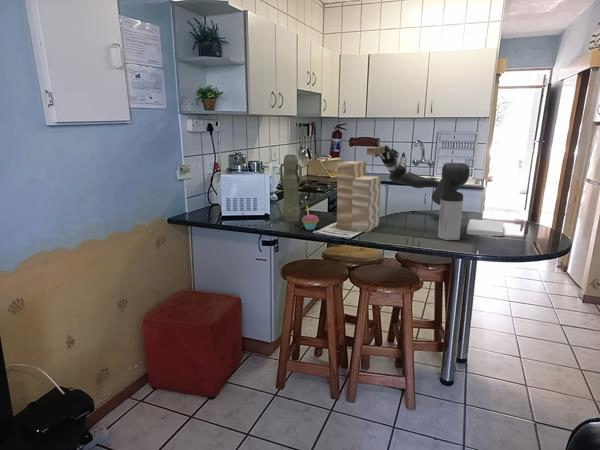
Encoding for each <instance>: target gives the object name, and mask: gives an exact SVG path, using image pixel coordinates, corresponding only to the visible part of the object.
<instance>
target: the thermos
mask: <svg viewBox="0 0 600 450" xmlns="http://www.w3.org/2000/svg"><path fill="white" fill-rule="evenodd" d="M302 175H303V167H302V165H301V164H300V163H299V159H298V157H297V155H295V154H286V155H284V158H283V163H281V164H280V166H279V177H280V183H281V184H282V189H283V208H282V212H283V221H284V222H286V223H297V222H299V221H300V216H301V215H300V213H301V212H300V209H301V208H300V206H299V204H300V203H299V200H300V199H299V195H300V194H299V190H300V184H302V183H303V180H302V179H303V177H302Z"/></svg>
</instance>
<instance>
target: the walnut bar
mask: <svg viewBox="0 0 600 450" xmlns="http://www.w3.org/2000/svg"><path fill="white" fill-rule="evenodd" d="M387 146H388V147H389V148H390V146H389V145H387ZM384 148H385V145H380V147H378V146H374V147H367V148H366V155H370V156H371V155H374V156H375V154H380V153H385V152H386V151H385V149H384Z"/></svg>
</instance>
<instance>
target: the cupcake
mask: <svg viewBox="0 0 600 450" xmlns="http://www.w3.org/2000/svg"><path fill="white" fill-rule="evenodd" d="M306 212H307V214H305V215H304V216H303V217H301V222H302V223H303V226H304V228H305V230H308V231H311V230H315V229H316V226H317V224H318V223H319V222H320V218H319V217H318V216H317V215H315V214H310V212H309V206H308V205H306Z"/></svg>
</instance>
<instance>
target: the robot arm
mask: <svg viewBox="0 0 600 450" xmlns="http://www.w3.org/2000/svg"><path fill="white" fill-rule="evenodd" d="M380 146H381V145H380V144H378V145H377V147H380ZM384 146H385V148H384V149H385V151H386V152H385V153H380V154H374V157H375V158H377V157H379V158H380V159H381V161H382V163H383V165H384V167H385V168H386V169H387V170H388V172H389V175H388V178H389V180H390V181H391V182H393V183H396V184H402V185H403V184H404V185H407V186H409V187H412V188H413V189H424V188H425V189H426V188H435V190H434V191H433V192H432V194H431V200H432V201H433V202H434V203H435V204H437V205H439V218H438V229H437V237H438V238H439V239H442V240H445V241H460V238H461V227H462V216H463V203H464V194H463V193H462V192H459V191H458V190H459V189H460V188H461V187H462V186H464V185H465V184H467V182H468V180H469V177H470V167H469V165H468V164H466V163H463V162H445V163H444V164H443V166H442V169H441V179H440V180H435V179H431V178H428V177H427V178H426V177H423V176H420V175H417V174H415V173H413V172H410V171H408V172H407V169H406V167H405V166H403V165H402V164H400V162H399V159H398V158H399V156H400V152H399V151H397V150H396V149H394V148H390V146H389V145H387V144H385V145H384ZM388 146H389V147H388Z"/></svg>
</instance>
